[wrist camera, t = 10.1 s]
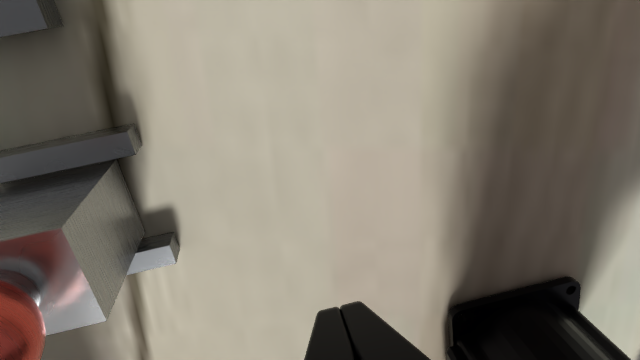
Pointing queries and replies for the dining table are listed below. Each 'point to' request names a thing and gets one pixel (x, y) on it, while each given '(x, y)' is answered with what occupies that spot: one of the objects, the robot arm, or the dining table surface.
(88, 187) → the handle
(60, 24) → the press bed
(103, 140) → the ram track
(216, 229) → the dining table surface
